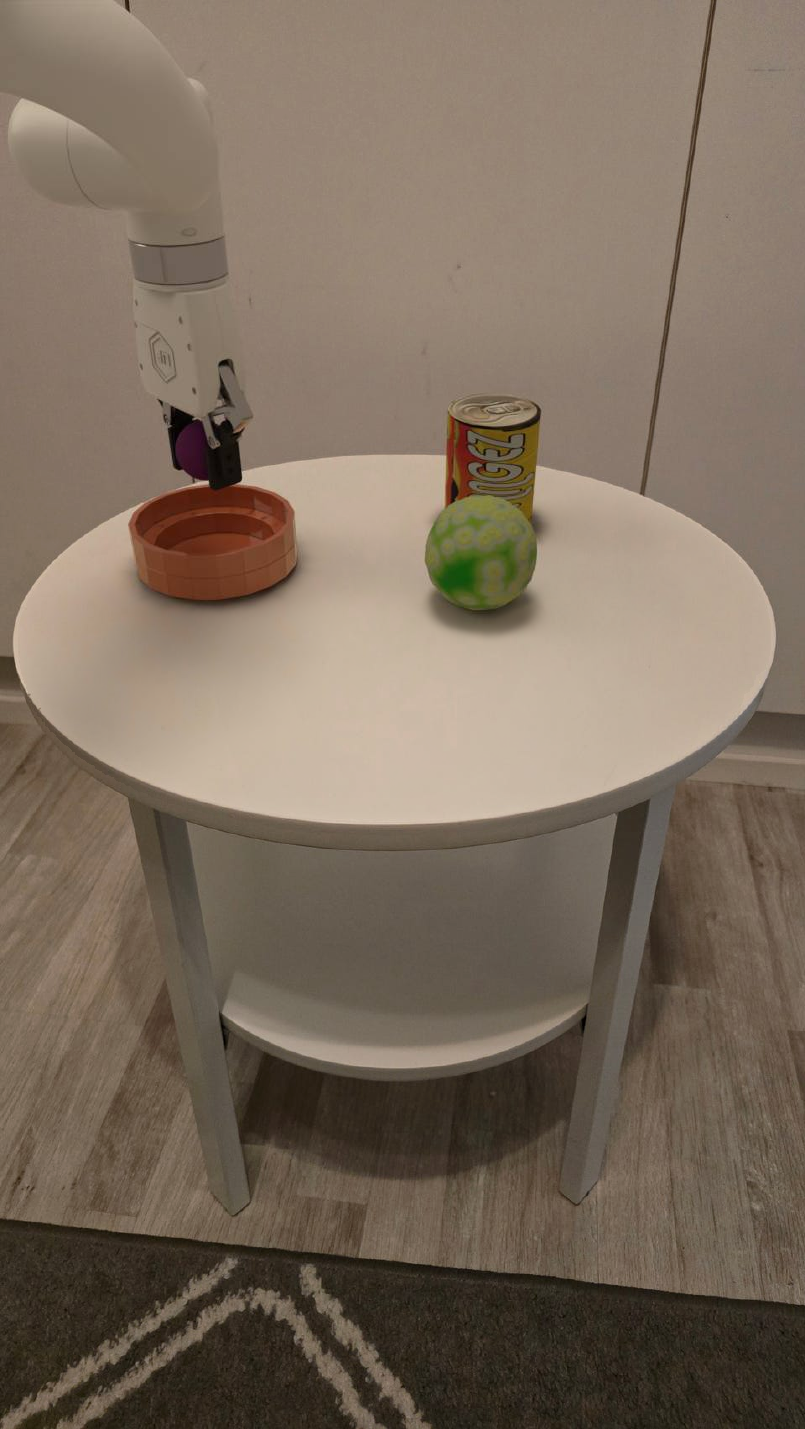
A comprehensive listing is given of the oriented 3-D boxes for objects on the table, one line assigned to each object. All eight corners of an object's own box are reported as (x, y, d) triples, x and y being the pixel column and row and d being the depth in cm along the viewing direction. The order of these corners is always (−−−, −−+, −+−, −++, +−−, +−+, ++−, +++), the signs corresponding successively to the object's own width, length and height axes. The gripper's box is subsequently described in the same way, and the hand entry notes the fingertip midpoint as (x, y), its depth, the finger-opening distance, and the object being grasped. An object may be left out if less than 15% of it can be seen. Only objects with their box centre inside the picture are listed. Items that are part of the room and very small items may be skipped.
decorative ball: (517, 572, 94) (525, 473, 88) (545, 627, 86) (555, 522, 80) (415, 579, 93) (416, 479, 86) (433, 636, 85) (436, 530, 79)
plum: (186, 494, 87) (178, 437, 84) (174, 471, 91) (166, 417, 88) (244, 484, 89) (238, 428, 85) (229, 463, 92) (223, 408, 89)
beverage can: (428, 516, 103) (430, 403, 96) (499, 498, 107) (506, 388, 100) (474, 551, 97) (480, 433, 90) (548, 530, 101) (560, 416, 93)
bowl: (184, 623, 86) (176, 573, 83) (111, 558, 96) (101, 511, 93) (327, 572, 94) (325, 524, 91) (246, 516, 103) (241, 471, 100)
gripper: (84, 250, 81) (123, 459, 92) (199, 290, 71) (227, 519, 82) (163, 236, 85) (191, 438, 96) (282, 272, 75) (298, 493, 86)
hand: (207, 473), depth 89 cm, fingers closed on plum, 5 cm apart
